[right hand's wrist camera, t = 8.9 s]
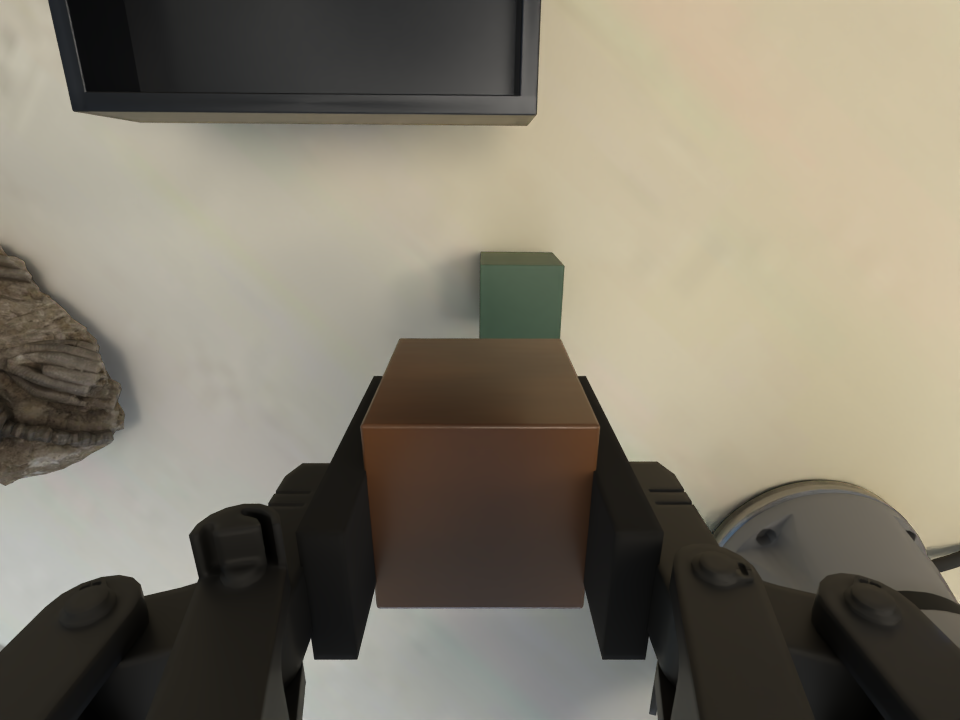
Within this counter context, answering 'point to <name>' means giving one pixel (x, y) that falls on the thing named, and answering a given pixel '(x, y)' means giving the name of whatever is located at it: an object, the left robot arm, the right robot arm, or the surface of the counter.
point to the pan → (302, 60)
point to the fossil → (48, 382)
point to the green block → (520, 295)
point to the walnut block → (480, 475)
